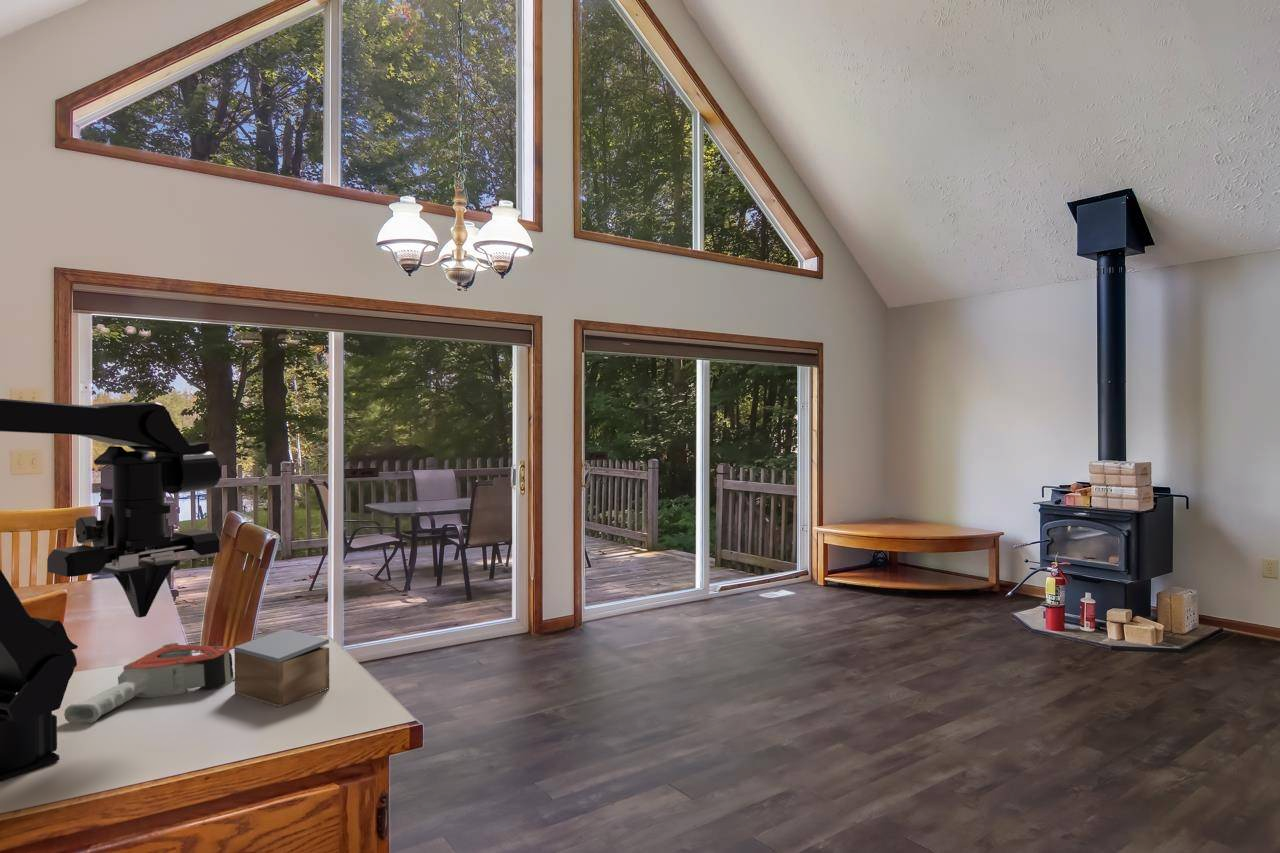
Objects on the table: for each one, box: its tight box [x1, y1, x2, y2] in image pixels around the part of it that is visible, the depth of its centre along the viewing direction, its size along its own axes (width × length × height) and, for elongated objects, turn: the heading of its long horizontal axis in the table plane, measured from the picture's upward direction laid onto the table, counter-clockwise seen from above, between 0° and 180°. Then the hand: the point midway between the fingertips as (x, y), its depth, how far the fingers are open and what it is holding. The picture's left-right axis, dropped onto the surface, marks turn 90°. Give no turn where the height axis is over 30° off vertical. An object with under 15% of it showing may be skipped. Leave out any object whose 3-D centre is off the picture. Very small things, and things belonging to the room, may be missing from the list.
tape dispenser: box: [63, 642, 235, 724], centre depth 110 cm, size 18×5×20 cm
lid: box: [233, 628, 330, 663], centre depth 110 cm, size 8×10×1 cm
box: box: [233, 645, 330, 708], centre depth 110 cm, size 8×10×6 cm
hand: (141, 616), depth 101 cm, fingers closed
